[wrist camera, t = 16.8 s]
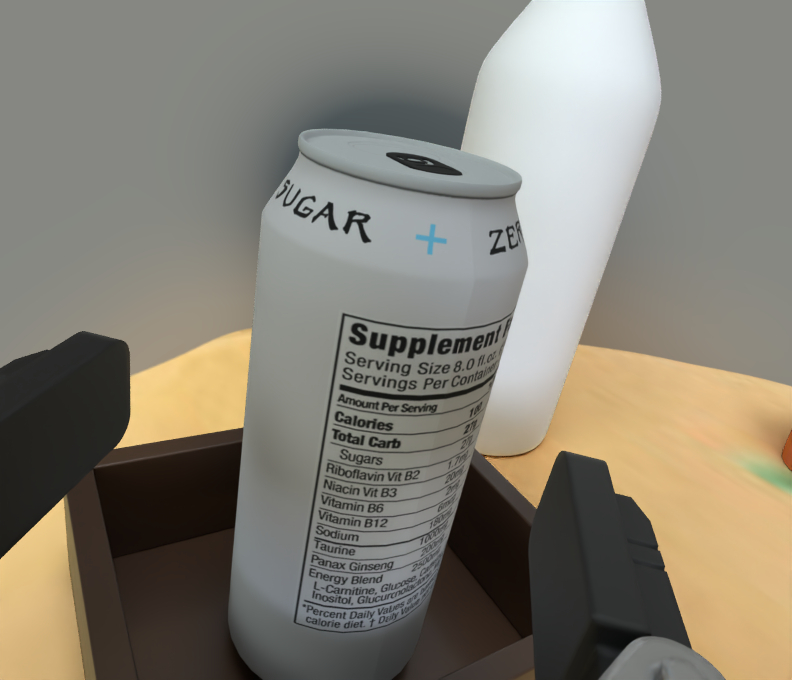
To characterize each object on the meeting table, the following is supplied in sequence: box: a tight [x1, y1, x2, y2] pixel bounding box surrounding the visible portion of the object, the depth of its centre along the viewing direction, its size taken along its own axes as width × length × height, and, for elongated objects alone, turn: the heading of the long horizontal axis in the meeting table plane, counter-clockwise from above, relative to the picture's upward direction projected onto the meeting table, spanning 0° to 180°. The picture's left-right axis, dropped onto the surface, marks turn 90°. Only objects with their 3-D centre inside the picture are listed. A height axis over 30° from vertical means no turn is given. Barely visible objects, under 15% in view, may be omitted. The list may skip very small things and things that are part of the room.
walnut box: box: [64, 428, 537, 680], centre depth 19 cm, size 14×12×5 cm
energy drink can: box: [228, 129, 528, 680], centre depth 16 cm, size 6×6×15 cm
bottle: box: [460, 0, 661, 456], centre depth 28 cm, size 8×8×30 cm
